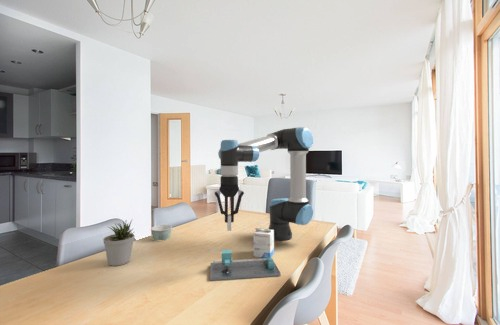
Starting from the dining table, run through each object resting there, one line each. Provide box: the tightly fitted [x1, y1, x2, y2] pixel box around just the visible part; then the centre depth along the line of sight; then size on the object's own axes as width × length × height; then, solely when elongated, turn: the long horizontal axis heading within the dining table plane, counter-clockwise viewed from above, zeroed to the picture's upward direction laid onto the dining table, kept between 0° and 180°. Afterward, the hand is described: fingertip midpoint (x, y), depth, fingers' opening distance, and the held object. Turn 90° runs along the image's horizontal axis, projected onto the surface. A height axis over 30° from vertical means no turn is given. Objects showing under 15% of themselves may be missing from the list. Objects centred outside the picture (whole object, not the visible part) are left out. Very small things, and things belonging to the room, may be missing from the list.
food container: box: [150, 224, 173, 241], centre depth 147 cm, size 12×12×6 cm
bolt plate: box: [209, 257, 282, 282], centre depth 105 cm, size 28×14×4 cm, turn 99°
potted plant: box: [102, 219, 135, 267], centre depth 113 cm, size 13×14×20 cm
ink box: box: [252, 227, 275, 259], centre depth 123 cm, size 9×8×13 cm
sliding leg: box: [221, 249, 233, 271], centre depth 105 cm, size 4×8×6 cm, turn 9°
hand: (229, 229), depth 108 cm, fingers closed
